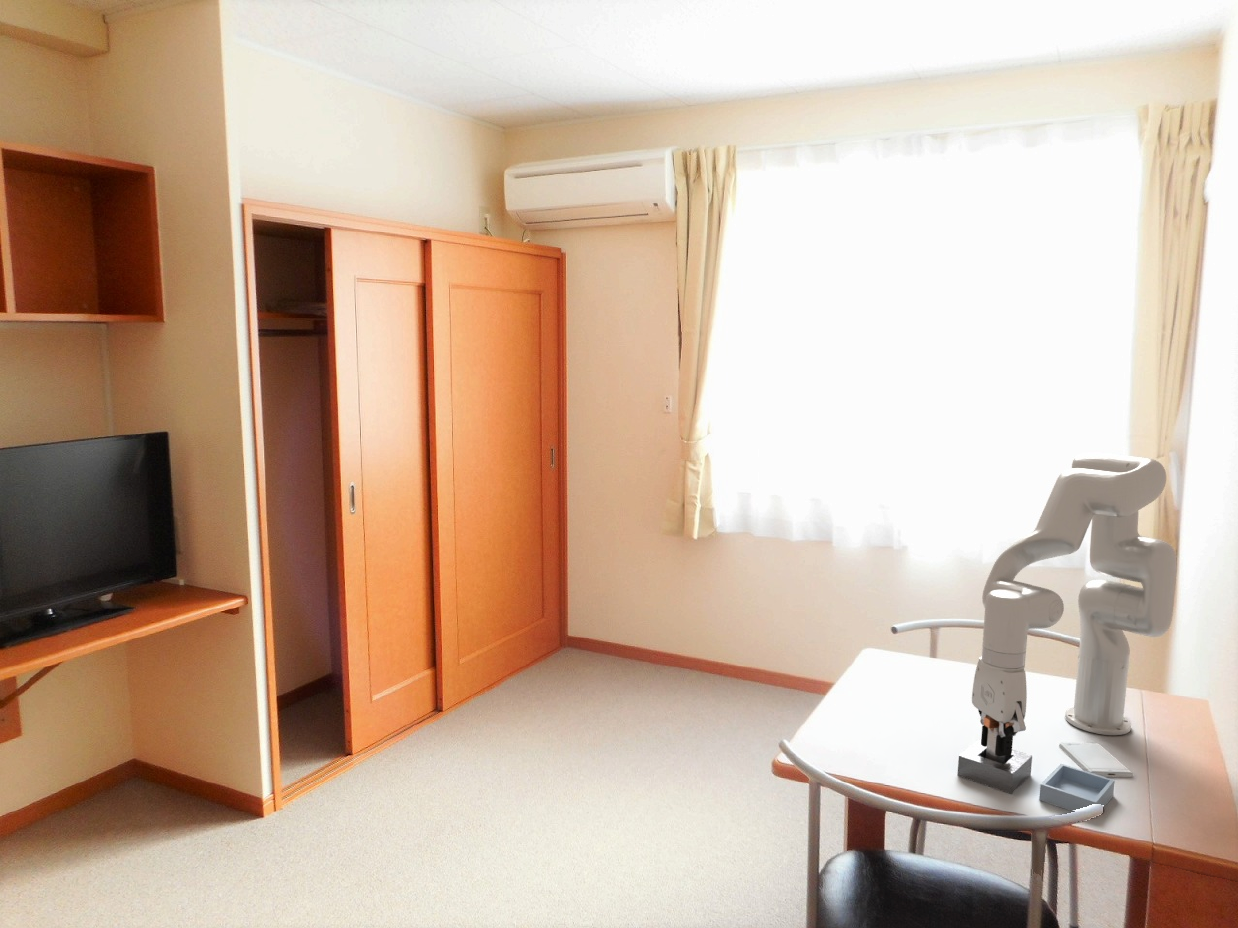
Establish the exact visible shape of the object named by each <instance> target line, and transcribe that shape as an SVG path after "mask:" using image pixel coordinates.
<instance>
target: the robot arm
mask: <svg viewBox="0 0 1238 928" xmlns="http://www.w3.org/2000/svg"><path fill="white" fill-rule="evenodd" d="M1166 483H1167V472H1166V469H1165V466H1163V464H1162V463H1161V462H1160V461H1158V460H1156V459H1153V458H1147V457H1141V456H1140V457H1138V456H1130V455H1122V454H1113V453H1105V452H1085V453H1084V452H1083V453H1080V454H1078V455H1076V456H1075V457H1074V459H1073V460H1072V463H1071V468H1069V469H1066V470H1063V471H1062V472H1061V473H1060V474H1059V475H1058V477H1057V478H1056V480H1055V482H1054V486H1053V488H1052V490H1051V492H1050V494H1049V497H1048V499H1047V501H1046V502H1045V503H1046V504H1045V506H1044V509H1043V510H1042V512H1041V515H1040V517H1039V519H1038V522H1037V525H1036V527H1035V528H1034V530H1033V531H1032V532H1031V533H1029V534H1027V535H1026V536H1023V537H1022V538H1020V539H1019V540H1017V541H1016V542H1014V543H1013V544H1012V545H1009V547H1008V548H1007V549H1005V550H1004V551H1003V552H1002V553H1001V554H999V556H998V557H997V558H996V561H994V564H993V565H992V568H991V570H990V572H989V573H988V574H989V575H988V577H987V580H986V582H985V585H984V588H983V591H982V604H983V607H984V617H983V618H984V619H983V633H982V645H981V656H980V657H979V658H978V661H977V664H976V668H975V670H974V671H975V672H974V678H973V684H972V691H971V703H972V705H973V706H974V708H976V709H977V710H978V713H979V716H980V724H981V725H982V727H981V738H980V739H981V745H982V746H984V747H985V746H987V736H988V727H986V726H985V725H984V717H986V716H989V717H991V718H993V719H994V720H996V721H998V722H999V735H997V736H996V748H995V755H997V756H1006V755H1011V754H1012V749H1013V739H1014V737H1015V736H1016V735H1017V734H1018V733H1019V732H1024V731H1026V730H1027V726H1026V723H1025V721H1024V720H1025V717H1026V713H1027V712H1026V711H1027V701H1028V700H1027V695H1028V693H1027V690H1028V688H1027V675H1026V669H1025V668H1026V666H1025V665H1026V657H1027V656H1026V653H1027V645H1028V644H1027V642H1028V641H1027V640H1028V631H1029V630H1032V629H1034V630H1035V629H1036V630H1037V629H1038V630H1039V629H1040V630H1041V629H1047V628H1048V629H1049V628H1051V627H1053V626H1055V625H1056V624H1057V623H1058V622H1059V621H1060V620H1061V619H1062V617H1063V614H1064V607H1065V605H1064V604H1065V603H1064V601H1063V599H1062V597H1061V596H1060V595H1059V594H1058V593H1056V592H1055V591H1054V590H1052V589H1048V588H1045V587H1041V586H1036V585H1032V584H1029V583H1025V582H1021V581H1017V580H1015V578H1016V577H1017V575H1018V574H1019V573H1020V572H1021V571H1022V570H1023V569H1025V568H1026V567H1028V566H1029V565H1031V564H1034V563H1036V562H1039V561H1043V560H1048V559H1052V558H1053V559H1054V558H1057V557H1058V558H1059V557H1063V556H1066V555H1070V554H1075V552H1077V551H1078V550H1079V549H1080V548H1081V545H1082V543H1083V541H1084V538H1085V536H1086V533H1087V531H1088V529H1089V526H1090V524H1091V529H1090V531H1091V532H1090V545H1089V564H1090V566H1091V568H1092V569H1093V571H1095V572H1096V573H1099V574H1101V575H1105V576H1107V577H1108V576H1109V577H1113V578H1116V579H1121V580H1126V581H1131V582H1136V583H1139V584H1141V586H1142V587H1139V586H1134V585H1131V584H1126V583H1121V582H1117V581H1113V580H1108V579H1092V580H1089V581H1087V582H1086V583H1084V584H1083V585H1082V587H1081V588H1080V590H1079V593H1078V599H1077V601H1078V602H1077V603H1078V613H1079V621H1080V622H1079V623H1080V626H1079V627H1080V633H1079V636H1080V637H1079V649H1078V661H1077V669H1076V681H1075V682H1076V684H1075V690H1074V691H1075V693H1074V704H1073V707H1071V708H1068V709H1067V710H1066V711H1065V715H1064V717H1065V720H1066V721H1067V722H1068V723H1069V724H1070V725H1072V726H1073V727H1076V728H1078V729H1080V730H1083V731H1085V732H1089V733H1093V734H1098V735H1104V736H1105V735H1106V736H1122V735H1126V734H1128V733H1129V732H1131V730H1132V724H1131V722H1130V720H1128V719H1127V718H1126V717H1125V715H1124V714H1125V704H1126V696H1127V695H1126V694H1127V685H1128V684H1127V683H1128V675H1129V666H1130V665H1129V662H1130V655H1131V651H1130V650H1131V649H1130V644H1129V641H1128V638H1127V637H1126V635H1125V632H1128V633H1133V634H1135V635H1136V634H1137V635H1139V636H1143V637H1150V638H1159V637H1162V636H1164V635H1165V634H1167V632H1168V631H1169V629H1170V627H1171V624H1172V621H1173V615H1174V614H1173V613H1174V606H1175V605H1174V604H1175V595H1176V594H1175V593H1176V592H1175V591H1176V581H1177V580H1176V579H1177V570H1178V568H1177V565H1178V562H1177V554H1176V551H1175V549H1174V548H1173V546H1172V545H1171V544H1170V543H1169V542H1167V541H1165V540H1163V539H1160V538H1155V537H1149V536H1142V535H1140V533H1139V511H1140V510H1142V509H1143V508H1145V507H1147V506H1149V504H1152V503H1153V502H1154V501H1156V500H1157V499H1158V498H1160V495H1161V494H1162V493H1163V491H1164V489H1165V487H1166ZM1124 631H1125V632H1124ZM1007 723H1009V726H1008V727H1007V728H1006V724H1007Z"/></svg>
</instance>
